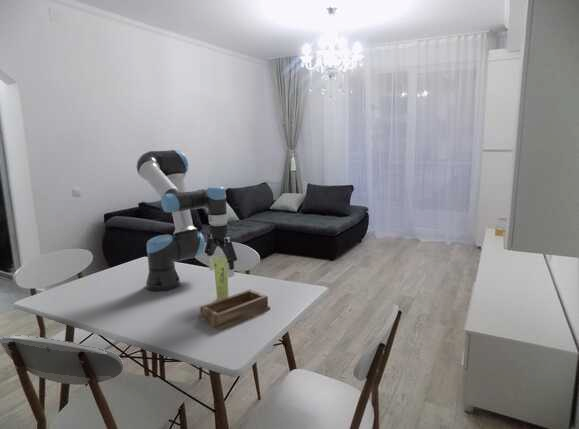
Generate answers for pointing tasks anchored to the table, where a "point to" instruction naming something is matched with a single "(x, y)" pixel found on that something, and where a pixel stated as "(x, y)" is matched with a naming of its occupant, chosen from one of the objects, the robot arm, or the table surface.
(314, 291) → the table surface
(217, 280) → the tube
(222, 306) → the tray
